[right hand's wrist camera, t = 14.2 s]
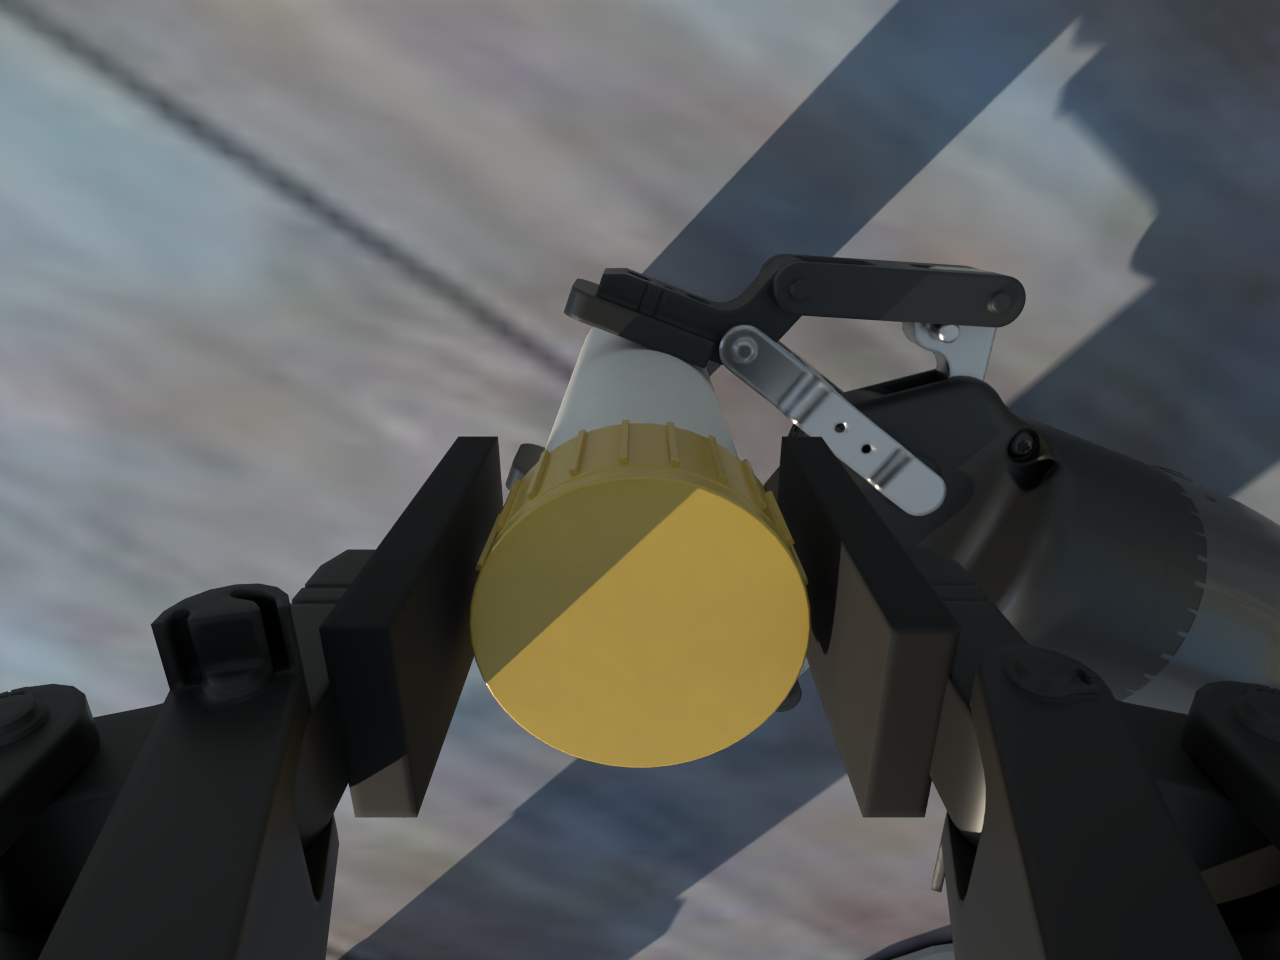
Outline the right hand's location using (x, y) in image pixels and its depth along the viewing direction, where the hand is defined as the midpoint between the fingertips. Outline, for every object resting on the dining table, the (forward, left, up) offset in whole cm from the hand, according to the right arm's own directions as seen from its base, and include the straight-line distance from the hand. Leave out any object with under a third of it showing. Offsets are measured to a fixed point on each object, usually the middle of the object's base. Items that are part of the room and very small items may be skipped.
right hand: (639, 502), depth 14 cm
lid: (0, 0, +4) cm, 4 cm away
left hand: (-1, -3, -6) cm, 6 cm away
